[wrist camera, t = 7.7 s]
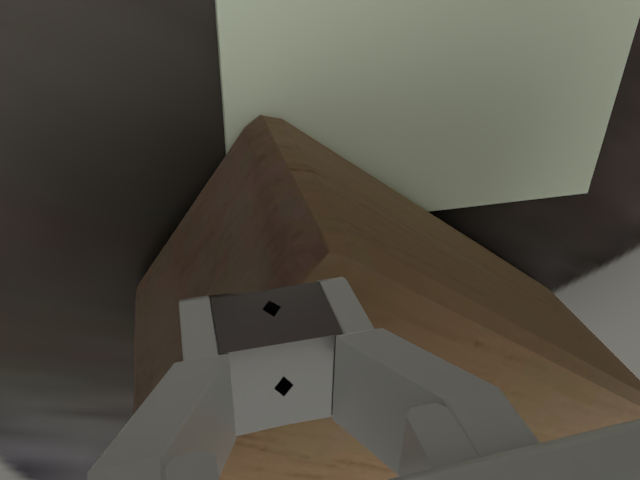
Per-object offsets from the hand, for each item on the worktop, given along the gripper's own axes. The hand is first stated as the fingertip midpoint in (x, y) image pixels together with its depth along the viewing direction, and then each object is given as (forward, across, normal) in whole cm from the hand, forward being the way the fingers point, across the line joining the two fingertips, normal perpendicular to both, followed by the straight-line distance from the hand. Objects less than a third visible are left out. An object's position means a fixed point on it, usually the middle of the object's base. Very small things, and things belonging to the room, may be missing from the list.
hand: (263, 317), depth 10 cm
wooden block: (+7, +1, +3) cm, 8 cm away
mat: (+13, -10, -1) cm, 16 cm away
